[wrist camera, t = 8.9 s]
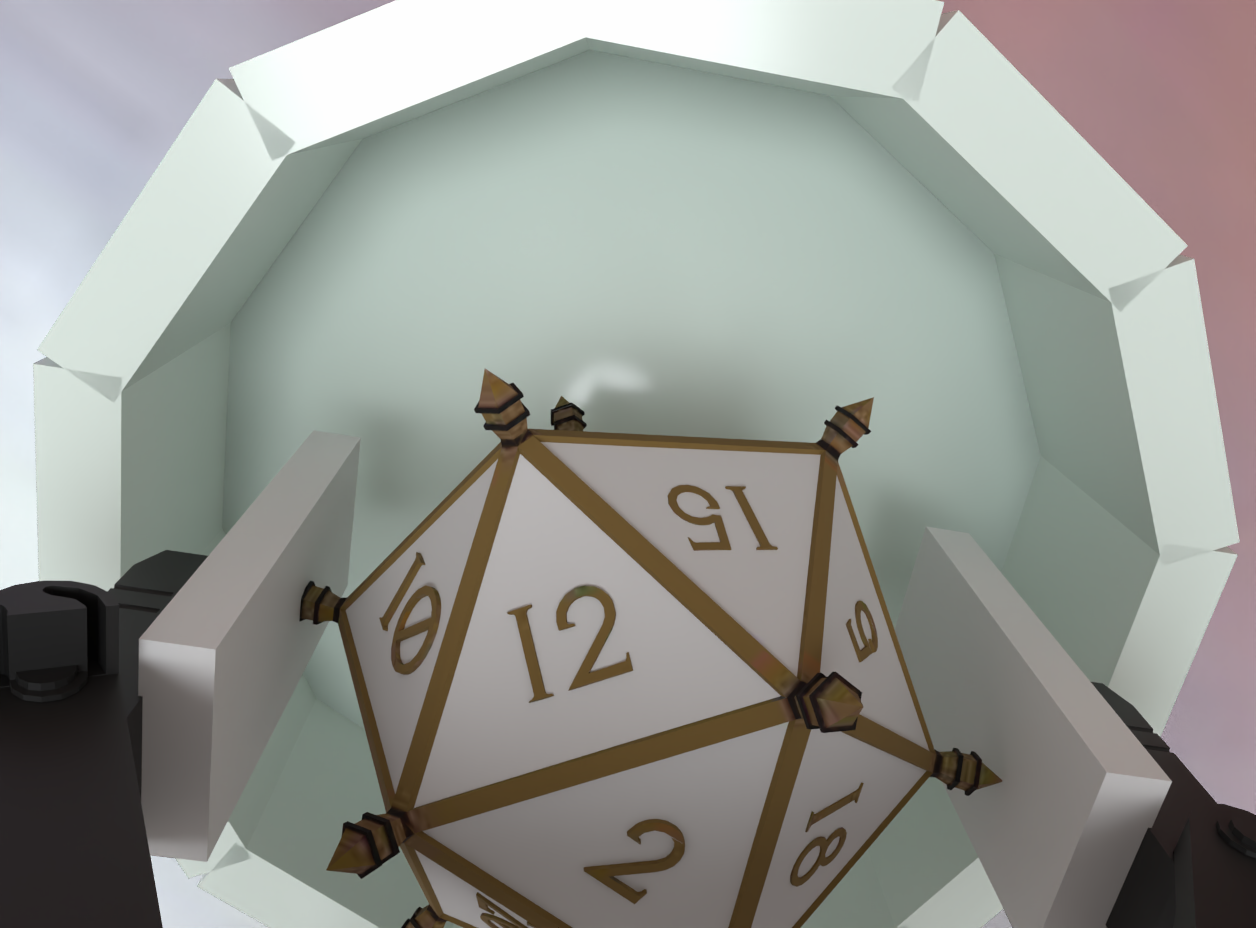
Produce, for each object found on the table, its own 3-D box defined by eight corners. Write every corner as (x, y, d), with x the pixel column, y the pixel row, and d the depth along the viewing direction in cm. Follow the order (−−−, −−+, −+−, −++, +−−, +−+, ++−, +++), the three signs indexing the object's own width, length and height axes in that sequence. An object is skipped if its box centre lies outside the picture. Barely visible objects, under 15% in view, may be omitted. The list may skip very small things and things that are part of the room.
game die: (684, 542, 21) (843, 1084, 16) (256, 541, 18) (273, 1241, 12) (928, 219, 15) (1338, 956, 9) (326, 117, 11) (429, 1211, 6)
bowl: (928, 871, 25) (1014, 1079, 19) (172, 775, 23) (49, 973, 18) (1199, 97, 18) (1431, 100, 13) (196, -102, 17) (18, -186, 12)
